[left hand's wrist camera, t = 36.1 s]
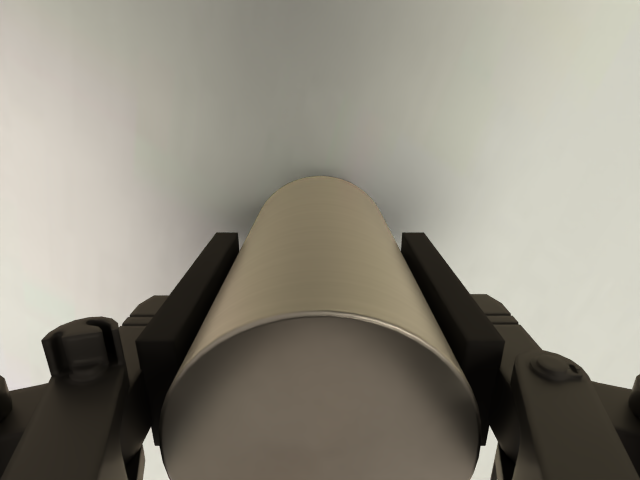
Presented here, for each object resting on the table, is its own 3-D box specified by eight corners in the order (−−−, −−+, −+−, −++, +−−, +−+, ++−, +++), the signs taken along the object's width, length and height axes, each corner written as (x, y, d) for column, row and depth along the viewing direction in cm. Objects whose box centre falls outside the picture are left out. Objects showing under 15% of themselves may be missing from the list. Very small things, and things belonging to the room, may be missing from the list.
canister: (237, 191, 17) (104, 349, 6) (374, 161, 16) (468, 279, 6) (272, 310, 18) (213, 577, 8) (395, 286, 18) (493, 537, 8)
